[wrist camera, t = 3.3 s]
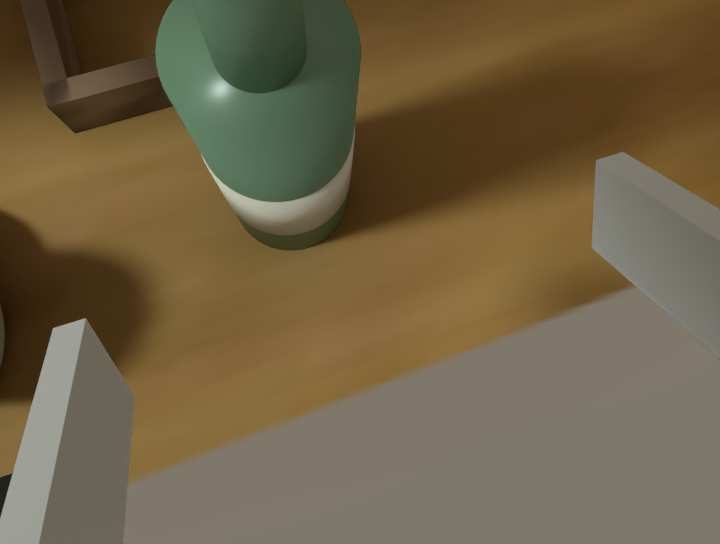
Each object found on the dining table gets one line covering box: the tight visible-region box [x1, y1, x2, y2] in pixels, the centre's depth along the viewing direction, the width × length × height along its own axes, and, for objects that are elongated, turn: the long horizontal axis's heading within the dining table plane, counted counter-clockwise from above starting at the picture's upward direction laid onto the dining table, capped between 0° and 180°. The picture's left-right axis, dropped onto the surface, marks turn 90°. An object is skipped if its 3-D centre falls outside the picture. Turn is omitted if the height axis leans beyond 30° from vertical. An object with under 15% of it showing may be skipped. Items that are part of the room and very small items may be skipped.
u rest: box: [20, 0, 173, 133], centre depth 31 cm, size 10×10×3 cm
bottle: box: [155, 0, 361, 250], centre depth 21 cm, size 6×6×20 cm
